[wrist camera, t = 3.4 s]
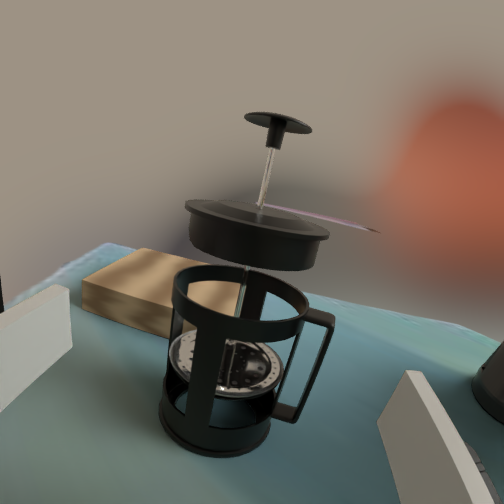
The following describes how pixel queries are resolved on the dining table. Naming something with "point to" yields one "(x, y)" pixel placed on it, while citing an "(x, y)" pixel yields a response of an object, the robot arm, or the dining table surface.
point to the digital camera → (1, 300)
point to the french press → (248, 323)
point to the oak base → (151, 291)
